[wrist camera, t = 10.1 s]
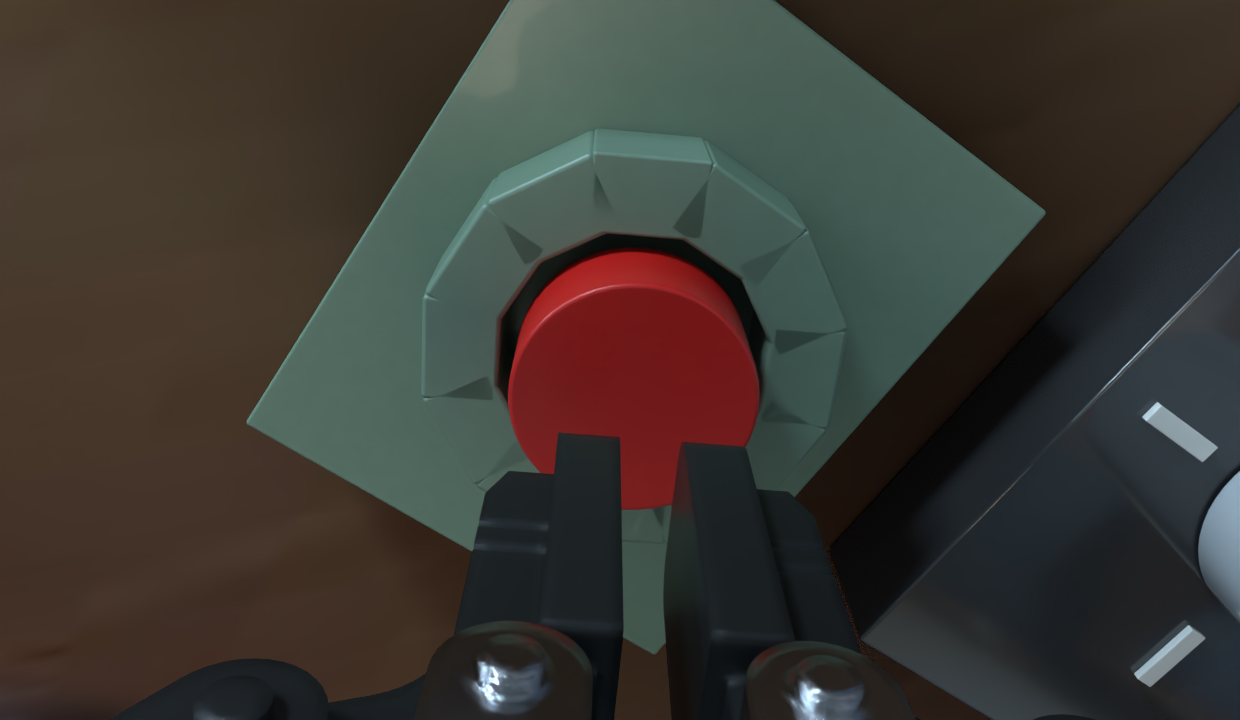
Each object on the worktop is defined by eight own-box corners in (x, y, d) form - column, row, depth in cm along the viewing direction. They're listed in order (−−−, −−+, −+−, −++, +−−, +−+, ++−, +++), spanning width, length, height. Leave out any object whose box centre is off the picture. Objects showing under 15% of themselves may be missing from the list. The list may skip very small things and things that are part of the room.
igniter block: (650, 590, 22) (659, 722, 19) (281, 374, 20) (207, 474, 17) (1001, 181, 19) (1096, 244, 15) (597, -131, 17) (594, -146, 13)
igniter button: (656, 492, 17) (661, 552, 16) (474, 381, 16) (459, 431, 15) (791, 329, 16) (812, 374, 14) (603, 200, 15) (601, 233, 14)
